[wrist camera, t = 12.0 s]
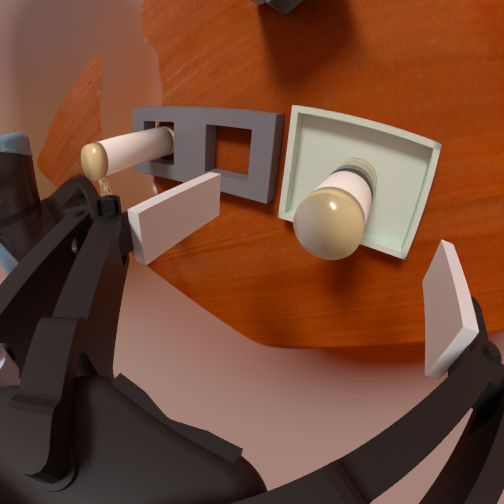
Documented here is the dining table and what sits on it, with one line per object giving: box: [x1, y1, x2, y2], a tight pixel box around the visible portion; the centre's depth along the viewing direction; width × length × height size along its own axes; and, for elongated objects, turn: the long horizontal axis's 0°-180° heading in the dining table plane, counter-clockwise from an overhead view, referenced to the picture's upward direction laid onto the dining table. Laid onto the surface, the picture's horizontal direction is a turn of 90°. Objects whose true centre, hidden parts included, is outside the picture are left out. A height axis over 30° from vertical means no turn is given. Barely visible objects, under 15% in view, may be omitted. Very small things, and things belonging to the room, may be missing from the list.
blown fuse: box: [293, 158, 377, 260], centre depth 18 cm, size 4×4×12 cm
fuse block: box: [133, 106, 284, 204], centre depth 29 cm, size 20×9×2 cm, turn 84°
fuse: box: [81, 125, 174, 181], centre depth 27 cm, size 4×4×12 cm
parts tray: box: [278, 105, 442, 260], centre depth 23 cm, size 13×11×2 cm
